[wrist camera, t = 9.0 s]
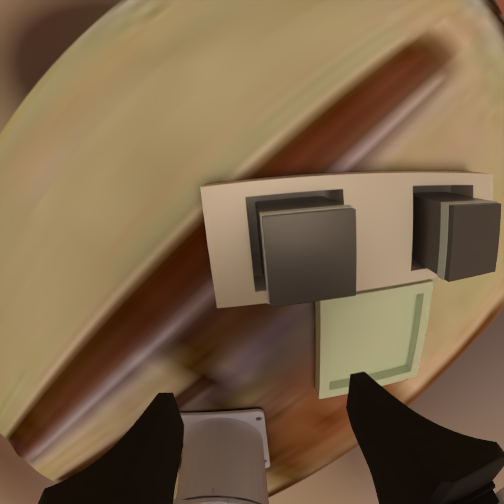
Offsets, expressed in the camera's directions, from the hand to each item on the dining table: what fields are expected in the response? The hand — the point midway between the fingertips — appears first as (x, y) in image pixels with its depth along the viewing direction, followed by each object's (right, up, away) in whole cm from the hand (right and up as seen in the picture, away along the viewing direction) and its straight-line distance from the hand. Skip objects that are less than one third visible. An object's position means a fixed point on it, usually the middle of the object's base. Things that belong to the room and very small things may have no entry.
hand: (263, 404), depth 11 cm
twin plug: (+2, +7, +8) cm, 11 cm away
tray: (+9, 0, +11) cm, 14 cm away
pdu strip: (+7, +8, +9) cm, 14 cm away
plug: (+12, +8, +8) cm, 17 cm away
